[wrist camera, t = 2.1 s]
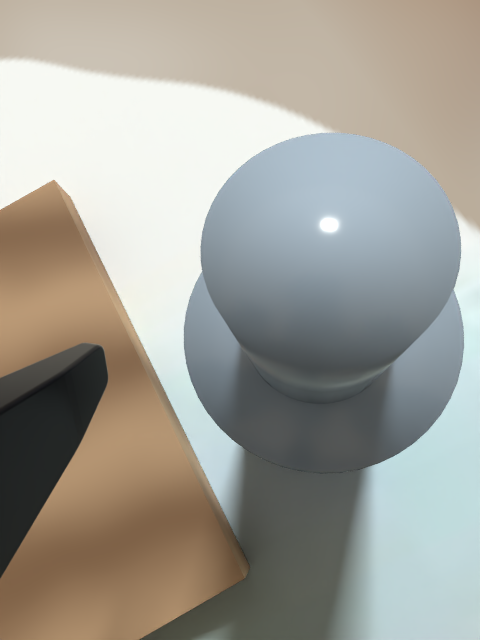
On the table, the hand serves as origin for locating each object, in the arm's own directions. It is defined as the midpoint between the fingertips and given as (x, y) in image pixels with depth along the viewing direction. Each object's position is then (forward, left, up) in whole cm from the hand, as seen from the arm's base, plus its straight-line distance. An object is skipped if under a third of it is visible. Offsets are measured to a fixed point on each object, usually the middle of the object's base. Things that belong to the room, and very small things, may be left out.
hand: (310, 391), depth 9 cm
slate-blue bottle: (+1, 0, -9) cm, 9 cm away
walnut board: (+3, +11, -9) cm, 14 cm away
